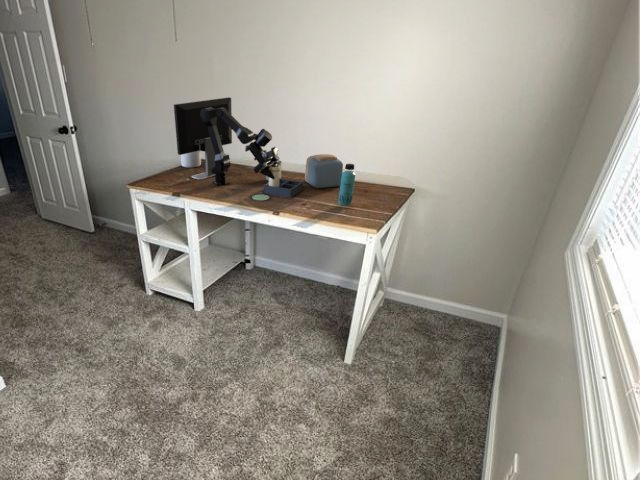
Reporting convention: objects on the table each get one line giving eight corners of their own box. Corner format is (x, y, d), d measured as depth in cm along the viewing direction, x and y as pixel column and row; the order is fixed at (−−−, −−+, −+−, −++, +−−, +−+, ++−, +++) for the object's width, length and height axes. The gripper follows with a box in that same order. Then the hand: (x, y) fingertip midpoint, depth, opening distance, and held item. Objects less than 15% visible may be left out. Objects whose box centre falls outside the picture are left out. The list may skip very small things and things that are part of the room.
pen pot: (266, 188, 219) (267, 165, 213) (275, 187, 222) (276, 163, 215) (272, 191, 215) (273, 167, 209) (281, 189, 217) (282, 166, 211)
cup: (279, 182, 235) (280, 163, 230) (265, 181, 237) (265, 163, 231) (281, 177, 242) (282, 160, 237) (267, 177, 244) (267, 159, 238)
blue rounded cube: (328, 178, 240) (331, 150, 232) (343, 186, 227) (346, 156, 218) (302, 181, 236) (305, 152, 227) (315, 189, 223) (318, 159, 214)
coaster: (248, 196, 214) (248, 196, 213) (263, 194, 217) (263, 193, 217) (257, 202, 207) (257, 201, 207) (272, 199, 210) (272, 198, 210)
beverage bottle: (335, 204, 203) (340, 162, 193) (349, 203, 204) (354, 162, 193) (339, 208, 198) (344, 166, 187) (353, 208, 198) (359, 165, 188)
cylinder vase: (202, 163, 272) (200, 122, 259) (199, 168, 261) (196, 125, 248) (183, 162, 273) (180, 121, 260) (179, 167, 262) (176, 125, 249)
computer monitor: (227, 166, 264) (226, 97, 243) (237, 169, 259) (236, 98, 238) (177, 180, 239) (170, 104, 218) (186, 183, 234) (181, 105, 213)
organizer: (263, 193, 218) (263, 185, 216) (276, 185, 229) (276, 177, 227) (290, 198, 211) (290, 189, 209) (302, 190, 223) (303, 181, 220)
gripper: (259, 145, 201) (279, 172, 202) (277, 138, 214) (295, 163, 216) (245, 160, 208) (264, 185, 210) (263, 152, 222) (280, 176, 223)
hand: (276, 177), depth 214 cm, fingers closed on pen pot, 5 cm apart
